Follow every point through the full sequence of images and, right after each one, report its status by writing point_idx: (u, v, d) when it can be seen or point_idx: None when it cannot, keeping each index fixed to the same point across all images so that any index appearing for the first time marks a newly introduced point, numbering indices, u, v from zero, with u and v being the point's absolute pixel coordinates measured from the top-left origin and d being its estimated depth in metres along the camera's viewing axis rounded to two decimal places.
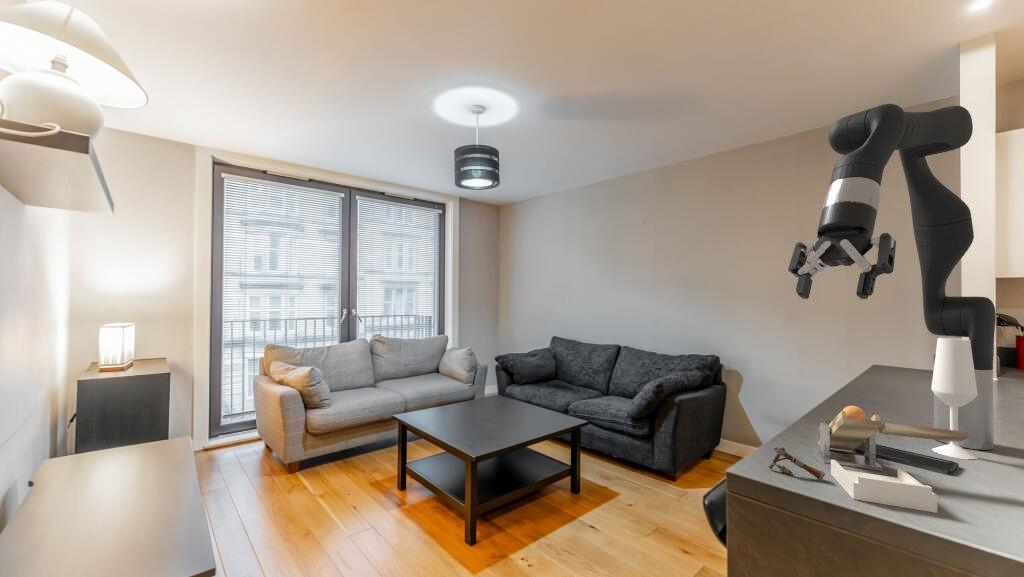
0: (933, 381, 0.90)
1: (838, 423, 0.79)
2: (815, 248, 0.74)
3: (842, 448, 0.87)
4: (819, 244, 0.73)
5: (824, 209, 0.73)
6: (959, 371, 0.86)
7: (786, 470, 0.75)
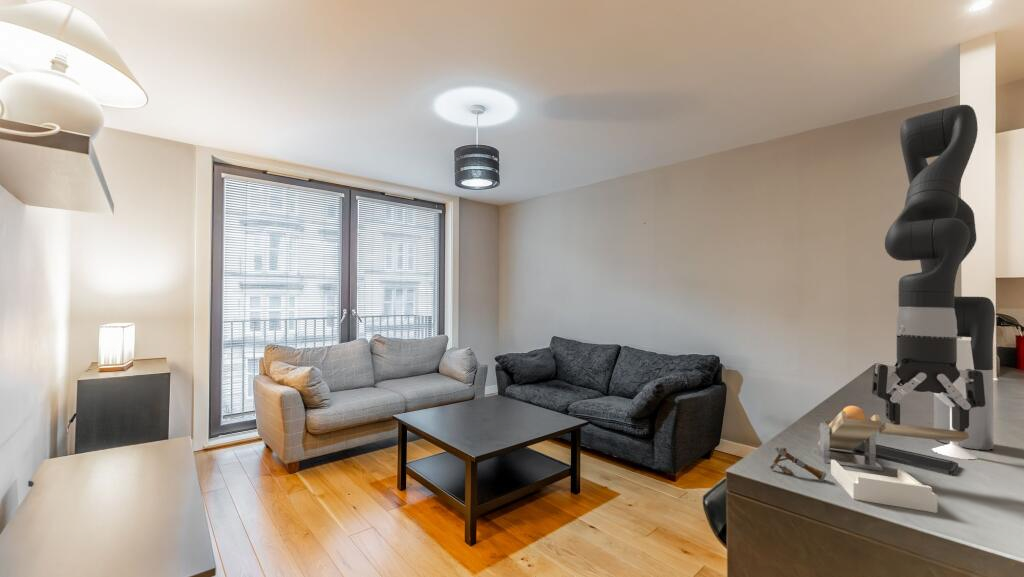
0: None
1: (838, 423, 0.79)
2: (904, 374, 0.74)
3: (842, 448, 0.87)
4: (907, 371, 0.73)
5: (916, 338, 0.72)
6: None
7: (787, 470, 0.75)
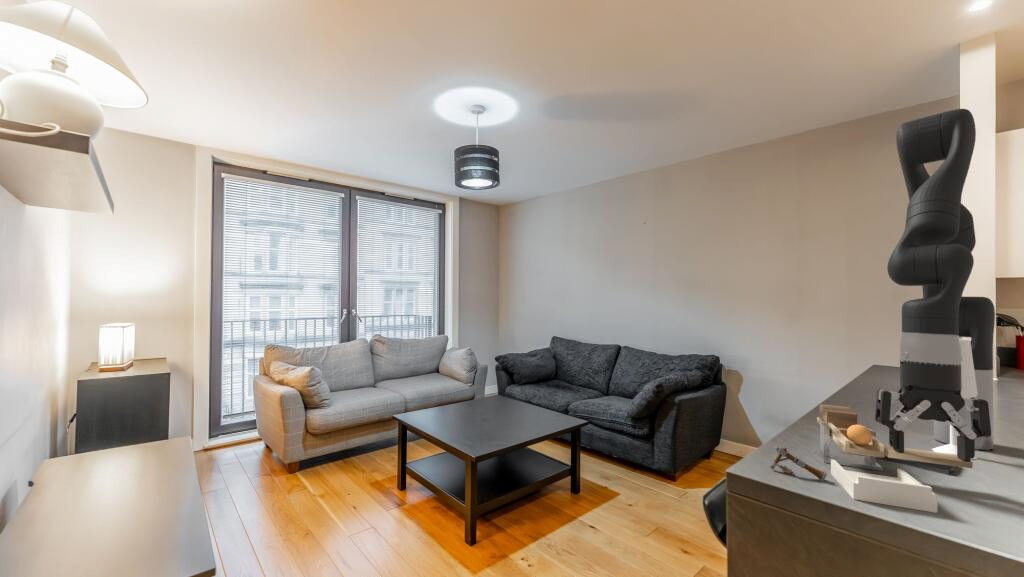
0: None
1: (840, 443, 0.78)
2: (908, 401, 0.72)
3: None
4: (911, 398, 0.72)
5: (920, 365, 0.71)
6: None
7: (788, 470, 0.75)
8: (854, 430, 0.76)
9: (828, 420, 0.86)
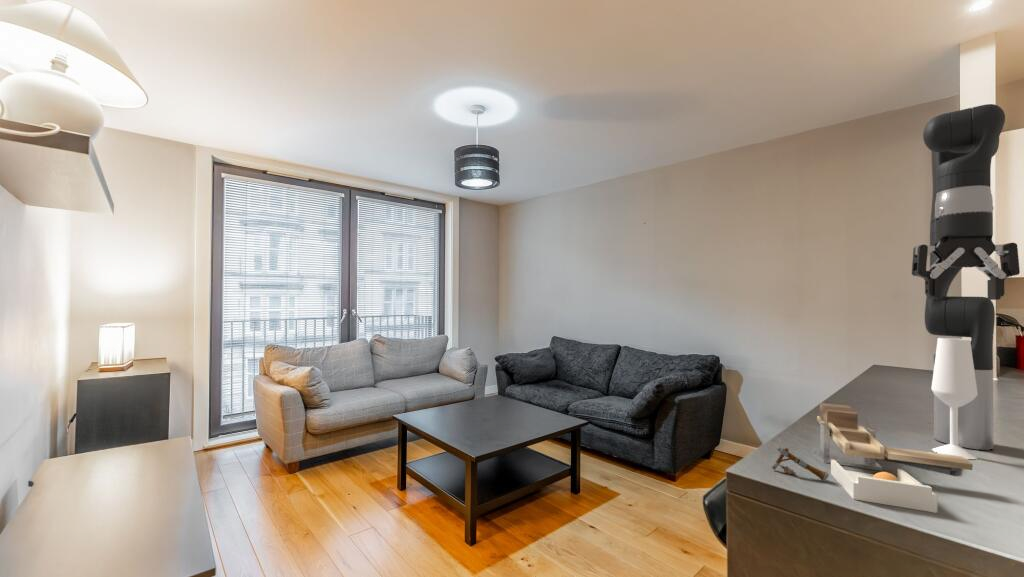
0: (933, 381, 0.90)
1: (840, 444, 0.78)
2: (943, 251, 0.80)
3: None
4: (946, 248, 0.80)
5: (955, 216, 0.78)
6: (959, 371, 0.86)
7: (789, 471, 0.75)
8: None
9: (828, 420, 0.86)
